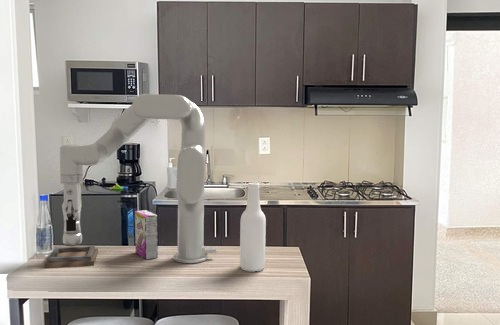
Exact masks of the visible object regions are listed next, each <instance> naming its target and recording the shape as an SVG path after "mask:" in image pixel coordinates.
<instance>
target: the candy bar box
mask: <svg viewBox="0 0 500 325" xmlns="http://www.w3.org/2000/svg"><path fill="white" fill-rule="evenodd" d="M134 226H135V227H134V231H135V232H134V233H135V234H134V235H135V238H134V239H135V245H134V246H135V253H136V254H137V255H139V256H140V257H142V258H143V259H145V260H147V261H149V260H153V259H158V257H159V256H158V249H159V248H158V247H159V246H158V240H159V239H158V215H157V214H156V213H154V212H151V211H149V210H146V209H143V210H135V211H134Z"/></svg>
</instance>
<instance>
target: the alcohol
mask: <svg viewBox="0 0 500 325" xmlns="http://www.w3.org/2000/svg"><path fill="white" fill-rule="evenodd" d="M247 184H248V186H247V188H248V190H247V200H246V208H245V210H244V211H243V212H242V214H241V217H240V229H239V230H240V232H239V234H240V236H239V237H240V238H239V267H240V269H241V270H242V271H244V270H245V272H249V273H251V272H253V273H255V271H257V272H261V271H263V270H264V269H265V266H266V235H267V234H266V231H267V230H266V226H267V223H266V222H267V219H266V215H265V214H264V212H263V211H262V208H261V201H260V200H261V199H260V196H261V195H260V183H258V182H248V183H247ZM263 268H264V269H263Z"/></svg>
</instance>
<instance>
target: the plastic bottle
mask: <svg viewBox="0 0 500 325" xmlns="http://www.w3.org/2000/svg"><path fill="white" fill-rule="evenodd" d="M69 192H70V191H69ZM81 203H82V202H81ZM81 203H80V210H79V211H78V212H77V210H75V220H76V231H66V217H67V212H65V211H64V201H63V203H62V204H61V208H62V210H61V211H62V215H63V234H62V243H63V244H64V247H78V246H80V245H81V244H82V243H83V234H82V230H81V213H82V212H81V211H82V207H81ZM66 210H67V208H66ZM72 211H74V209H72Z"/></svg>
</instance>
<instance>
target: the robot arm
mask: <svg viewBox="0 0 500 325" xmlns="http://www.w3.org/2000/svg"><path fill="white" fill-rule="evenodd" d="M151 120H175V121H176V120H178V121H180V124H181V142H180V151H179V153H178V156H177V165H176V166H177V168H176V185H175V186H176V187H175V189H176V195H177V252H176V253H175V254H174V255H173V258H172V259H173V261H175V262H177V263H182V264H195V263H196V264H197V263H198V264H199V263H202V262H205V261H206V260H207V259H208V257H209V256H208V254H216V253H217V248H215V247H212V246H211V247H205V245H204V233H205V232H204V229H205V228H204V227H205V226H204V224H205V223H204V222H205V221H204V217H205V178H206V177H205V176H206V173H205V172H206V153H205V151H206V150H205V147H206V124H205V123H206V122H205V118H204V115H203V113H202V111H201V109H200V108H199V106H197V105H196V104H195V103H194V102H193V101H191V100H190V99H189V98H187V97H186V96H184V95H182V94H157V93H155V94H153V93H141V94H139V95H137V96H136V97H135V98H134V99H133V101H132V104H130V105H129V107H127V108H126V109H125V110H124V111H123V112H122V113H121V114H120V115H117V117H115V119H114V120H113V122H112V123H111V125H110V127H109V129H108V130H107V131H106V132H105V133H104V134H103V135H101V137H99V138H98V139H97V140H96V141H95V142H94V143H90V144H84V145H80V144H71V143H70V144H69V143H67V144H62V145H61V146H60V147H59V173H60V174H59V179H60V180H59V181H60V184H61V185H63V202H64V211H65V212H67V217H66V231H76V220H75V210H77V212H78V211H79V210H80V203H81V208H82V207H83V206H82V203H83V202H82V189H81V188H82V187H81V184H83V183H84V171H83V170H84V169H83V167H84V166H88V167H94V166H97V165H99V164H100V165H101V164H102V163H104V162H105V161H106V160H108V159H109V158H110V157H111V156H112V155H114V153H116V152H117V151H118V150H119V149H120V148H121V147H122V146H124V144H126V143H127V142H128V141H129V140H130V139H131V138H132V137H134V136H135V135H137V133H138V132H139V131H140V130H141V129H143V128H144V127H145V126H146V125H147V124H148V123H149V122H151ZM69 191H70V192H69ZM66 208H67V210H66ZM72 209H74V211H72Z"/></svg>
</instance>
